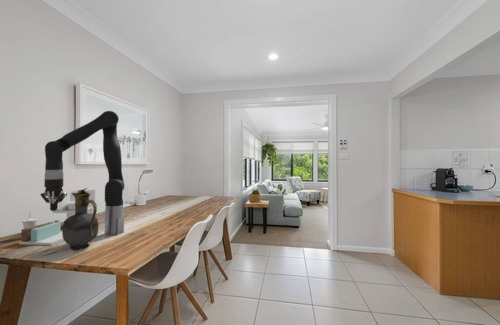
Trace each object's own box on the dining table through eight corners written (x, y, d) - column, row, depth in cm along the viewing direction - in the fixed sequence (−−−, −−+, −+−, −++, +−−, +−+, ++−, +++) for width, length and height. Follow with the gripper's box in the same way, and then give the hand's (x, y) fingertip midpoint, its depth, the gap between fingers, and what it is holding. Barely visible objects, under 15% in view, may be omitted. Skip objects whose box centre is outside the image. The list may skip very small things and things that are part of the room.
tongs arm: (56, 231, 128) (56, 220, 128) (63, 231, 128) (64, 220, 128) (27, 241, 110) (28, 228, 111) (36, 241, 111) (37, 228, 111)
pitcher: (82, 241, 115) (84, 186, 116) (105, 247, 108) (107, 188, 109) (58, 248, 105) (60, 188, 106) (81, 255, 98) (84, 190, 99)
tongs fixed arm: (48, 232, 125) (49, 222, 126) (53, 232, 125) (54, 222, 126) (21, 241, 110) (21, 229, 111) (26, 241, 110) (27, 229, 111)
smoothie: (18, 239, 118) (20, 213, 118) (24, 235, 123) (25, 211, 124) (34, 237, 121) (35, 212, 121) (39, 234, 126) (40, 210, 127)
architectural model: (81, 230, 136) (82, 194, 137) (44, 231, 134) (46, 193, 134) (105, 219, 164) (106, 189, 164) (76, 220, 161) (77, 189, 162)
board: (82, 233, 130) (82, 231, 130) (51, 245, 110) (51, 242, 110) (55, 232, 130) (55, 230, 130) (19, 244, 110) (19, 242, 110)
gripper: (72, 177, 118) (71, 209, 118) (48, 178, 118) (48, 209, 118) (60, 178, 111) (59, 211, 110) (34, 178, 111) (34, 212, 110)
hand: (53, 210), depth 114 cm, fingers closed
